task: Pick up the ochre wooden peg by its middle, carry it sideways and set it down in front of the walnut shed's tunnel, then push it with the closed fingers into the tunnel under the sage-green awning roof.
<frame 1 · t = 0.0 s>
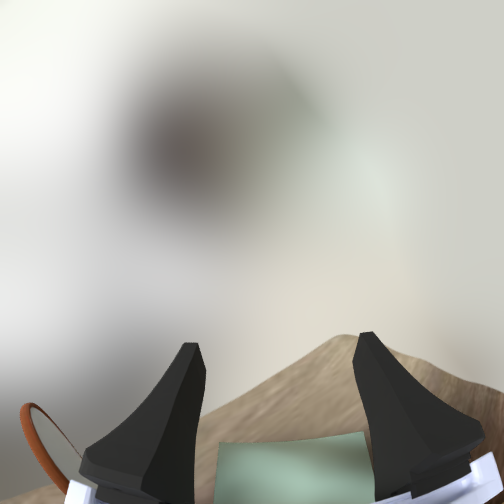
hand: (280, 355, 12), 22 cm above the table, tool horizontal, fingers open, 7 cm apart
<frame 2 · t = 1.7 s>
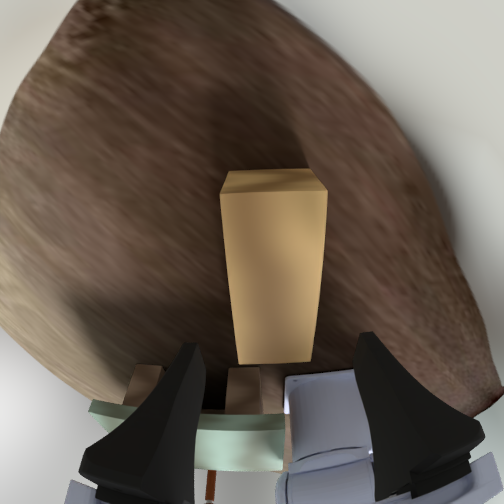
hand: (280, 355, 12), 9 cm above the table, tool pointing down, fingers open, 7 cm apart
peg: (271, 252, 20), on the table
socket shed: (202, 390, 28), on the table
magnifying glass: (215, 436, 35), on the table
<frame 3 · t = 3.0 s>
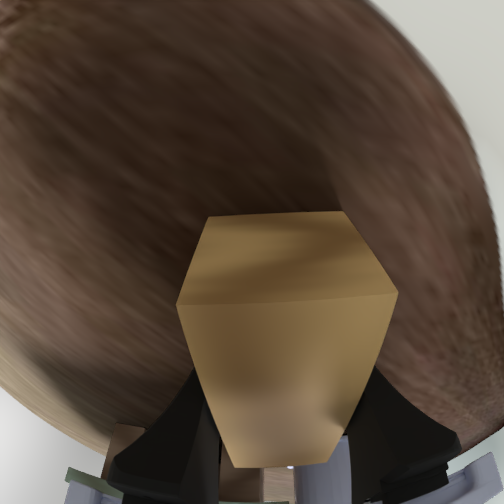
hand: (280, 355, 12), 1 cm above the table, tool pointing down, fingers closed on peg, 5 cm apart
peg: (278, 332, 13), on the table, touching gripper
socket shed: (194, 450, 22), on the table
when the fingers open (2 cm above the table, at t = 6.4 s): peg drops 1 cm, on the table.
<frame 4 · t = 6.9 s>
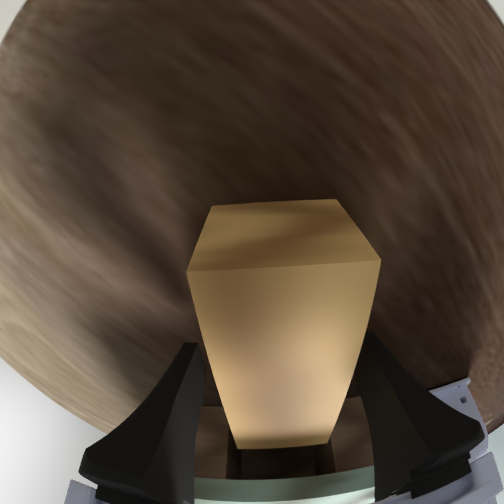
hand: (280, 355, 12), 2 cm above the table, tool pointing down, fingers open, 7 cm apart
peg: (278, 313, 14), on the table
socket shed: (277, 429, 21), on the table
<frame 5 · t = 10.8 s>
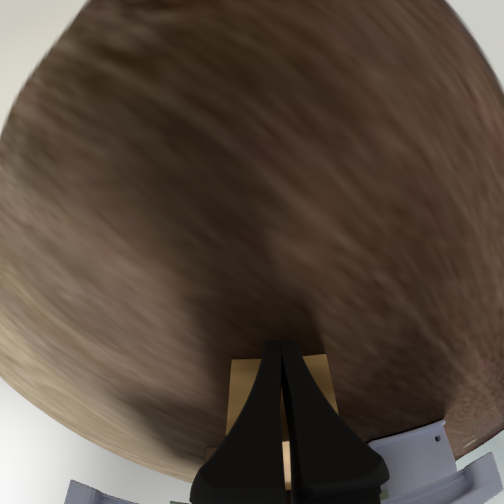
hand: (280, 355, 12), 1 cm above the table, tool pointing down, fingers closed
peg: (278, 409, 17), on the table
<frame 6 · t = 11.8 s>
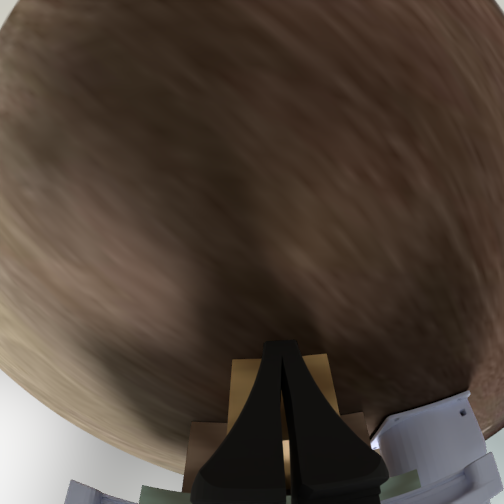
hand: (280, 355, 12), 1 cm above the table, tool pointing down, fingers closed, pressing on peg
peg: (279, 408, 17), on the table, touching gripper
socket shed: (278, 442, 20), on the table
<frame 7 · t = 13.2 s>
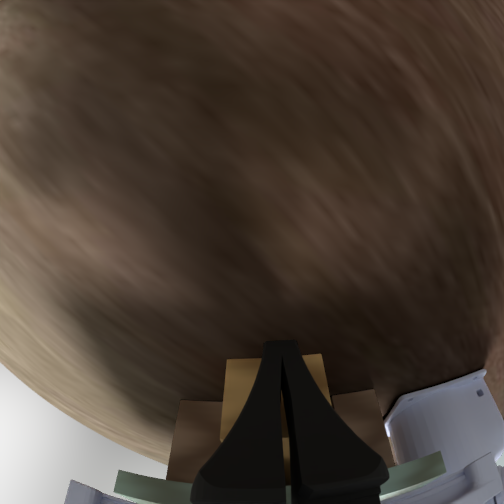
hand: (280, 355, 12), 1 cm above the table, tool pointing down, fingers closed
peg: (275, 407, 17), on the table
socket shed: (278, 427, 18), on the table
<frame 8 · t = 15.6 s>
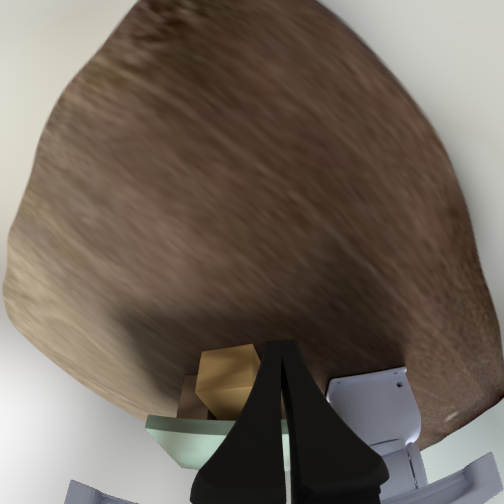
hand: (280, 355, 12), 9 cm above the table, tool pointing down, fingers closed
peg: (245, 380, 28), on the table
socket shed: (249, 396, 29), on the table
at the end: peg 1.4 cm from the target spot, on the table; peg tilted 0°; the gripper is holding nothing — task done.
